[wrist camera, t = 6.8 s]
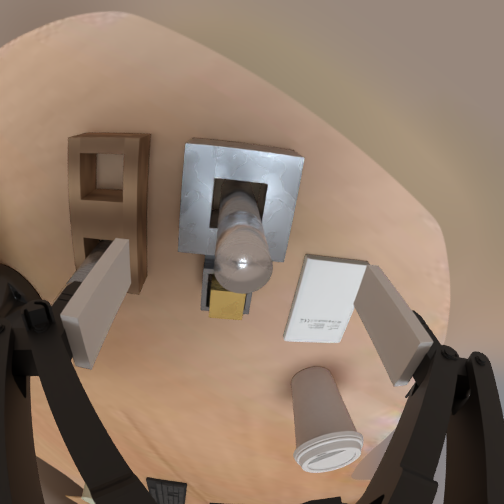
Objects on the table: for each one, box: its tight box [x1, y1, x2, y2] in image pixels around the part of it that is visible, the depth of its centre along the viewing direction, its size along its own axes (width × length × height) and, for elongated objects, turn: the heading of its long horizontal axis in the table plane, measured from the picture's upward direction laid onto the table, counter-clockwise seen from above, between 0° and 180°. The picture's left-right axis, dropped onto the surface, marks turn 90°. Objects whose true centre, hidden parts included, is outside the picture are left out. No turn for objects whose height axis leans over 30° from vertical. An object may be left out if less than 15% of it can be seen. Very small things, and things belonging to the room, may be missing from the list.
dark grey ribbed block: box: [146, 477, 187, 504], centre depth 71 cm, size 35×11×2 cm, turn 168°
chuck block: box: [178, 138, 305, 314], centre depth 30 cm, size 10×16×5 cm, turn 172°
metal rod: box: [214, 179, 273, 294], centre depth 24 cm, size 3×3×16 cm
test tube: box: [51, 239, 113, 306], centre depth 26 cm, size 3×3×16 cm
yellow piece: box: [209, 274, 246, 320], centre depth 31 cm, size 3×3×6 cm
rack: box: [68, 133, 151, 294], centre depth 29 cm, size 16×7×4 cm, turn 172°
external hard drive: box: [283, 254, 370, 343], centre depth 38 cm, size 2×8×12 cm
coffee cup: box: [291, 367, 363, 473], centre depth 38 cm, size 10×10×15 cm
